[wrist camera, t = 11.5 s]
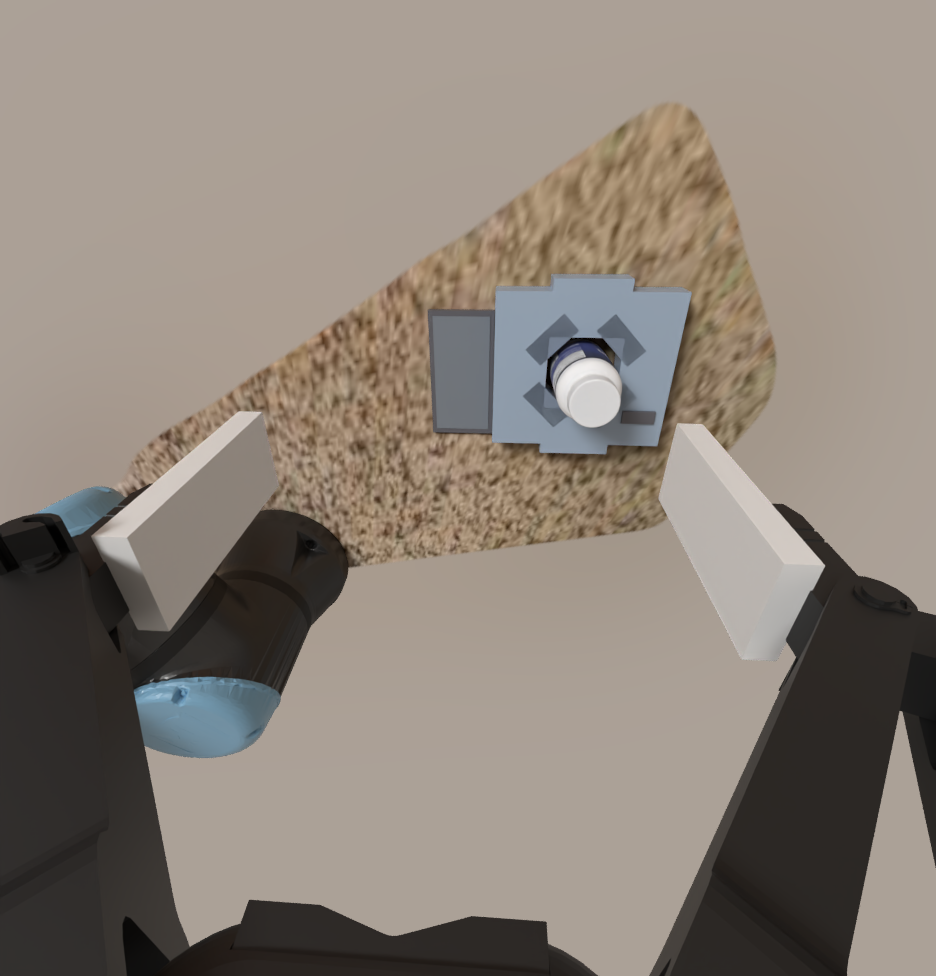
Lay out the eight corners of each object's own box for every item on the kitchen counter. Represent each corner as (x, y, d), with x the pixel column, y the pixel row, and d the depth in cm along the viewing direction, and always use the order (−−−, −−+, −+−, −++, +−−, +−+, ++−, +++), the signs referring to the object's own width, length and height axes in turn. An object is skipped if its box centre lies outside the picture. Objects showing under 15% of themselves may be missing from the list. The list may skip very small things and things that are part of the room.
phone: (491, 429, 50) (491, 433, 49) (434, 428, 51) (433, 432, 50) (494, 308, 44) (494, 311, 43) (429, 308, 44) (427, 310, 43)
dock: (492, 440, 50) (491, 452, 48) (496, 273, 42) (496, 278, 40) (648, 443, 50) (656, 456, 47) (684, 274, 41) (695, 279, 39)
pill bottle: (617, 371, 46) (643, 410, 38) (569, 404, 48) (584, 448, 40) (586, 325, 44) (607, 356, 36) (537, 361, 46) (546, 399, 38)
